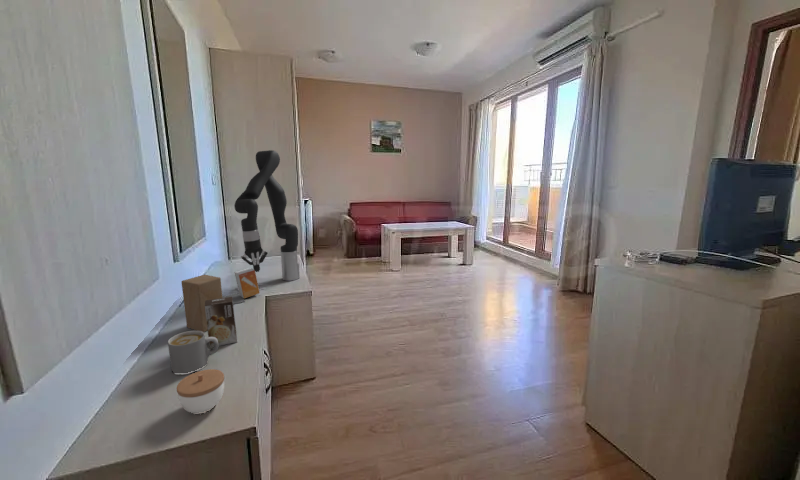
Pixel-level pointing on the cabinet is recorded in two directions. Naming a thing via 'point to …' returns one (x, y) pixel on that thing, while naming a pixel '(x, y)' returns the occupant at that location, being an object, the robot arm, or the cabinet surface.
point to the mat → (235, 298)
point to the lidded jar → (201, 390)
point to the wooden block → (199, 299)
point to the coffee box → (221, 320)
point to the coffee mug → (190, 351)
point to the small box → (247, 282)
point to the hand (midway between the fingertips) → (257, 271)
